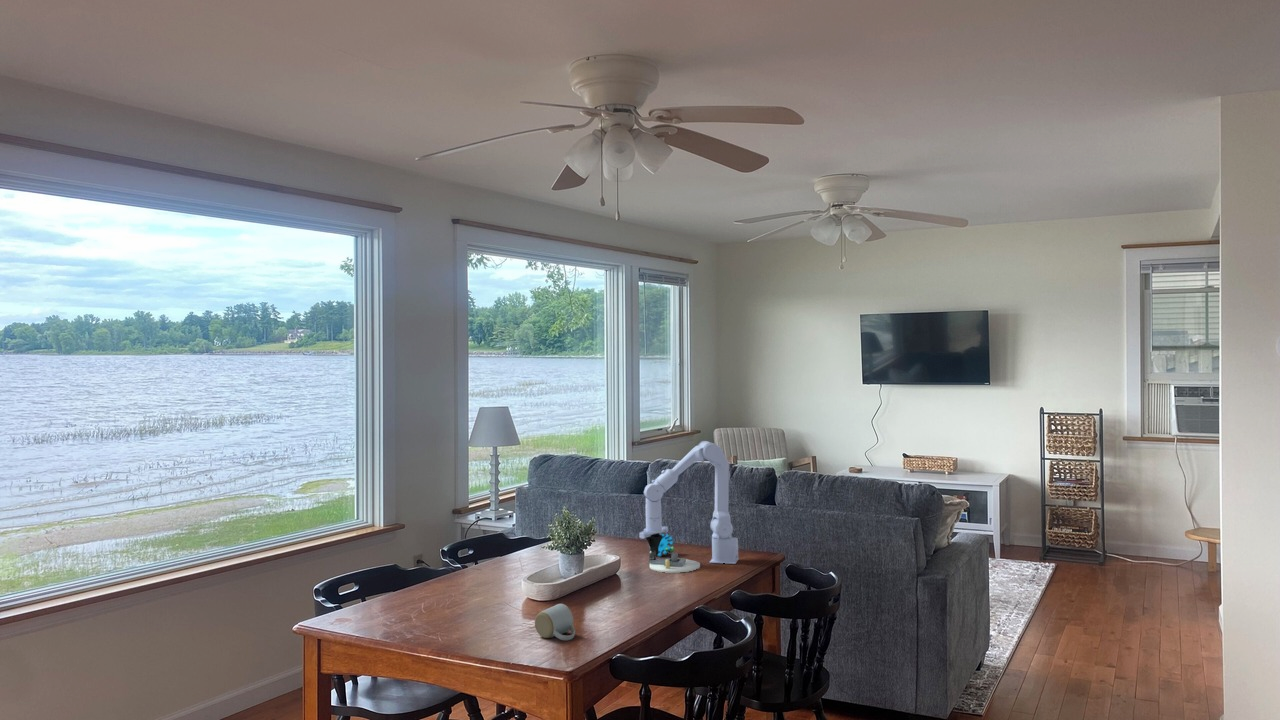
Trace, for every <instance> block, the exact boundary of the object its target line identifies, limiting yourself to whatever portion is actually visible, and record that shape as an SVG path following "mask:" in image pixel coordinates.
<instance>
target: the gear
mask: <svg viewBox="0 0 1280 720" xmlns="http://www.w3.org/2000/svg"><path fill="white" fill-rule="evenodd" d="M660 535H663V538H662V540H661V542H660V544H659V548H658V555H657V557H659V558H662V556H663V555H665V556H666V555H668V554H671V553H674V551H675V550H676V549H675V547H674V541H673V540H674V539H673V537H672V536H670V535H669V534H668V533H666V534H664V533H660ZM669 545H670V546H669ZM648 549H650V546H649V547H648ZM667 553H668V554H667Z"/></svg>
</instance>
